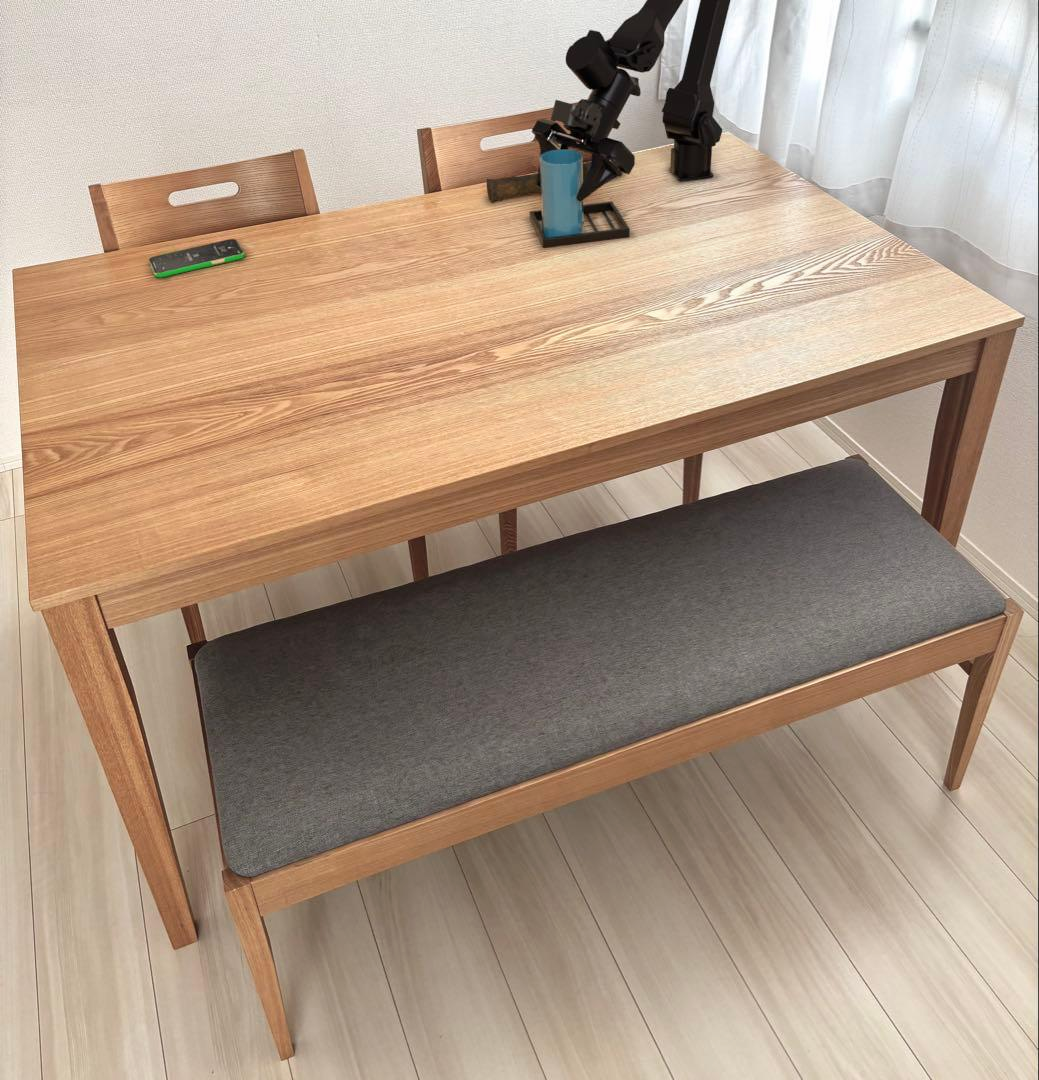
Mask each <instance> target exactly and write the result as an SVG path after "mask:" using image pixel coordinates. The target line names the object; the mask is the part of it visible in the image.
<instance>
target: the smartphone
mask: <svg viewBox="0 0 1039 1080" xmlns="http://www.w3.org/2000/svg"><path fill="white" fill-rule="evenodd" d="M245 256H246V254H245V252H244V250H243V249H242V247H241V245H240V243H239V242H238V240H237V239H235V238H228V239H224V240H220V241H216V242H215V241H214V242H211V243H208V244H203V245H198V246H193V247H189V248H185V249H180V250H175V251H172V252H171V251H170V252H166V253H163V254H157V255H155V256H152V257H149V259H148V263H149V267H150V268H151V271H152V274H153V275H154V277H155V278H158V279H160V278H166V277H170V276H174V275H178V274H182V273H187V272H192V271H195V270H199V269H205V268H209V267H213V266H218V265H222V264H226V263H230V262H231V263H232V262H235V261H238V260H242V259H243V258H245Z"/></svg>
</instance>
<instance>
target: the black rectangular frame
mask: <svg viewBox="0 0 1039 1080" xmlns="http://www.w3.org/2000/svg"><path fill="white" fill-rule="evenodd" d="M607 212H610V214H611V215H612V217H613V218H614V220H615V222H616V223H617V226H618V227H619V228H616V227H615V225H614V224H613V222H612V220H611V219H610V217H609V215H608V214H607ZM596 213H601V214H602V215H603V216H604V218H605V220H606V222H607V223H608V225H609V226H610V228H611V229H604V230H598V228H597V226H596V225H595V222H593V219H592V218H591V216H590V215H591V214H596ZM583 214H584V215H585V217H586V219H587V220H588V223H589V224H590V226H591V227H592V229H593V231H589V232H583V233H580V234H572V235H564V236H556V237H549V238H545V236H544V234H543V232H542V226H541V225H540V223H539V221H540V220H541V221H542V209H539V210H532V211H531V210H530V211H529V220H530V223H531V225H532V227H533V229H534V232H535V234H536V236H537V238H538V240H539V242H540V245H541V247H542V249H549V248H555V247H563V246H571V245H577V244H585V243H586V244H587V243H594V242H600V241H610V240H617V239H624V238H630V227H629V225H628V224H627V222H626V221H625V220H624V219H625V218H623V215H622V214H621V213H620V211H619V210H618V208H617V206H616V205H615V203H614V202H613V201H604V202H595V203H594V202H593V203H588V204H587V203H586V204H583Z"/></svg>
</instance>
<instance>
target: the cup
mask: <svg viewBox="0 0 1039 1080" xmlns="http://www.w3.org/2000/svg"><path fill="white" fill-rule="evenodd" d="M583 157H584V156H583V154H582V153H581V152H579V150H576V149H570V148H568V149H558V150H551V151H548V152H545V153H543V154H542V155H541V156H540V155H539V158H538V159H539V162H540V185H541V192H540V205H541V206H540V208H541V209H540V210H542V220H541V229H542V232H543V234H544V236H545V238H549V237H556V236H564V235H572V234H580V233H584V230H585V227H584V226H585V222H584V221H585V220H584V215H585V214H583V205H584V200H583V201H581V202H580V201H578V200H577V199H576V197H577V194H578V192H579V189H580V187H581V185H582V183H583V164H584V162H583V161H584V159H583Z"/></svg>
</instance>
